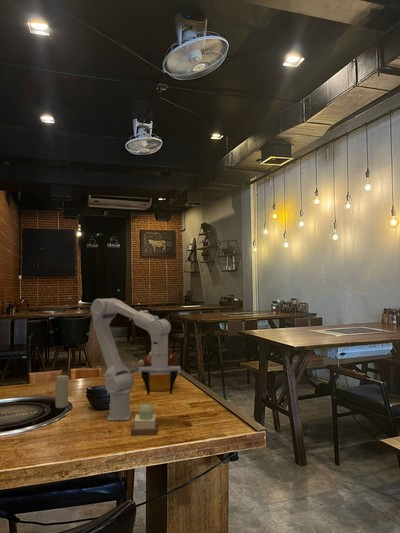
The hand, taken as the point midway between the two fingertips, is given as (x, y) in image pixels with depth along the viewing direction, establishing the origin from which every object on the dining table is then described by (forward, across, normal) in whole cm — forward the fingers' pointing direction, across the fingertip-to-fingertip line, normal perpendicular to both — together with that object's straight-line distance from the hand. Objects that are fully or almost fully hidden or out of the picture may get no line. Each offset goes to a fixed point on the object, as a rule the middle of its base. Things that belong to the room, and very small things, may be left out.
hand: (159, 393), depth 137 cm
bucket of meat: (+11, -2, +49) cm, 50 cm away
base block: (+11, -5, -6) cm, 13 cm away
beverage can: (+11, -40, +24) cm, 48 cm away
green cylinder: (+6, -4, -6) cm, 10 cm away
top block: (+8, -4, -6) cm, 11 cm away
